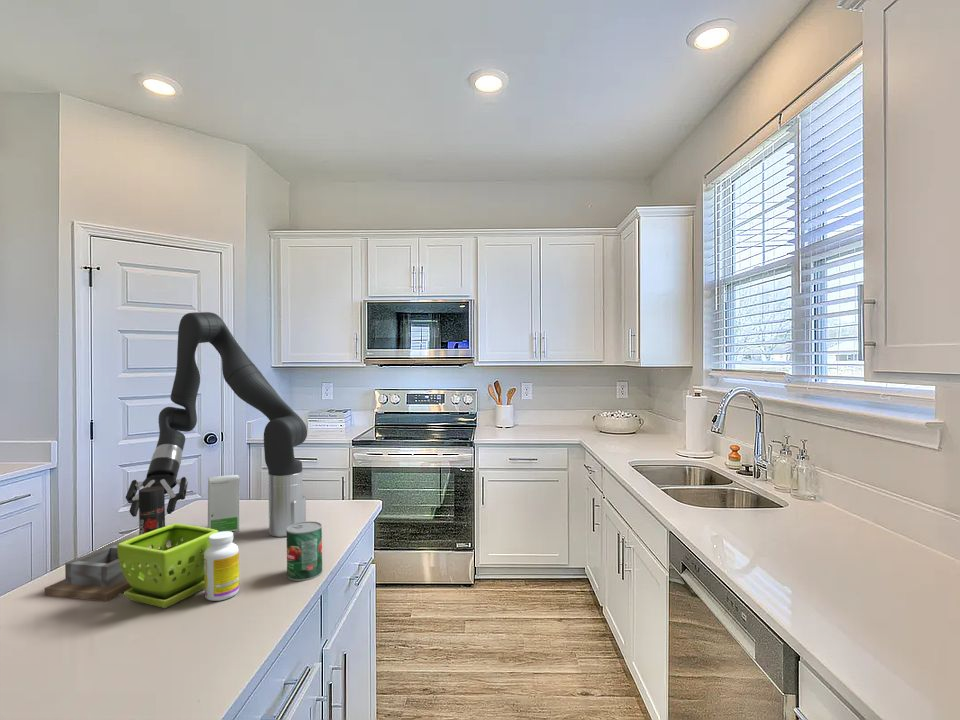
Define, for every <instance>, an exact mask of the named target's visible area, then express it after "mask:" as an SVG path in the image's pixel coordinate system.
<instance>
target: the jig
mask: <svg viewBox="0 0 960 720" xmlns="http://www.w3.org/2000/svg"><path fill="white" fill-rule="evenodd" d="M117 545H118V544H117ZM117 545H116V544H110V545H108V546H105V547H103V548H100V549H97V550H94V551H92V552H89V553H87V554H85V555H82V556H80V557H78V558H76V559H73V560H69V561H68V562H65V563H64V564H65V565H64V566H65V568H64V570H65V575H64V576H65V579H62V580H60V581H58V582H55V583H52V584H50V585H49V586H46V587H44V596H52V597H59V598H60V597H61V598H62V597H63V598H72V599H79V598H80V600H89V601H90V600H91V601H100V602H108V601H110V600H111V599H113V598H116V597H117V596H120V595H121V594H124V592H125V591H127V590H129V589H131V588H132V587H131V585H130V584H129V583H128V581H127V580H126V578H125V576H124V574H123V572H122V569H121V566H120V563H119V558H118V552H117ZM166 546H167V548H169V547H170V546H171V544H170V545H169V544H168V545H167V544H166ZM147 548H151V549H152V547H151V546H149V547H147ZM158 550H160V547H159V548H158ZM139 564H140V563H139Z"/></svg>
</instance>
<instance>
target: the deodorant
mask: <svg viewBox="0 0 960 720" xmlns="http://www.w3.org/2000/svg"><path fill="white" fill-rule="evenodd" d="M142 488H143V489H142ZM142 488H140V489H139V490H138V493H139V509H138V521H139V525H138V526H139V529H138V530H139V534H138V536H139V535H142V534H145V533H148V532H150V531H153V530H156V529H159V528H162V527H165V526H166V507H165V505H166V503H165V500H166V499H165V495H166V494H164V487H163V486H154V487H147V488H144V487H142Z"/></svg>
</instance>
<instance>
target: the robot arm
mask: <svg viewBox="0 0 960 720" xmlns="http://www.w3.org/2000/svg"><path fill="white" fill-rule="evenodd" d="M205 343H209V344H211V346H213V347H214V349H215V350H216V351H217V353H218V354H219V355H220V358H221V367H222V368H221V369H222V370H221V371H222V375H223V379H224V381H225V383H226V384H227V385H228V386H229V388H230V389H231V390H232V391H233V393H234V394H235V395H236V396H237V397H238V398H239V399H240V400H242V401H243V402H245V403H246V404H248V405H250V406H251V407H252V408H254V409H256V410H257V411H259V412H261V414H263V415H264V416H265V417H266V418H267V419H268V420H269V422H267V424H266V425H265V427H264V431H263V445H264V446H263V449H264V452H263V453H264V462H265V465H266V467H267V470H268V472H267V476H268V481H267V483H268V534H269V535H270V536H271V537H272V536H273V537H278V538H279V537H280V538H281V537H286V536H287V532H286V528H287V527H288V526H290V525H292V524H295V523H299V522H307V509H306V508H307V505H306V504H307V501H306V500H307V499H306V496H303V462H302V461H301V460H299V459H297V458H295V451H294V448H295V447H297V446H300V445H301V444H303V443H304V442H305V441H306V440H307V437H308V428H307V425H306V423H305V422H304V420H303V419H302V418H301V417H300V416H299V415H298V414H297V413H296V412H295V410H293V409H292V407H290V406H289V404H288V403H286V402H285V401H284V400H283V399H282V397H281V396H280V395H279V394H278V392H277V391H276V390H275V389H274V388H273V386H272V385H271V384H270V383H269V381H268V380H267V379H266V378H265V376H264V375H263V373H262V372H261V371H260V370H259V368H258V367H257V366H256V364H255V363H254V362H253V361H252V360H251V359H250V358H249V357H248V355H247V354H246V352H245V351H244V350H243V348H242V347H241V345H239V343H238V342H237V340H236V339H235V337H234V335H233V334H232V333H231V331H230V329H229V328H228V326H227V324H226V323H225V322H224V320H223V318H221V316H220V315H218V314H216V313H214V312H210V311H209V312H208V311H207V312H206V311H203V312H201V311H199V312H187V313H185V314H184V315H182V317H181V319H180V321H179V324H178V331H177V349H176V350H177V351H176V352H177V353H176V370H175V376H174V380H173V385H172V388H171V394H170V401H172V403H174V404H175V405H178V406H181V407H182V408H181V407H173V406H165V407H164V408H163V409H161V411H160V412H159V414H158V431H159V435H158V440H157V443H156V447H155V450H154V452H153V454H152V457H151V459H150V463H149V465H148V470H147V473H146V476H145V479H144V480H143V481H137V479H134V480H132V481H131V483H130V484H129V488H128V490H127V493H126V495H125V500H126V501H127V503H128V504H131V505H130V507H129V513H130V515H131V516H132V517H134V518H135V517H137V515H138V513H139V492H138V491H139V490H140V489H143V488H147V487H154V486H163V487H164V494H165V495H167V496H168V497H169V499H168V503H167V506H166V513H167V514H168V515H171V514H172V513H173V512H175V510H176V505H177V502H178V501H181V500H185V499H186V495H187V489H188V480H187V478H186V477H185V476H182V477H181V478H178V479H177V477H178V473H179V471H180V468H181V467H180V465H181V464H182V459H183V458H182V457H183V450H184V448H185V444H186V436H185V434H184V433H189V432H192V431H193V430H194V429H195V428H196V425H197V423H198V415H197V405H196V404H197V403H196V402H197V396H198V393H199V390H200V389H199V388H200V385H201V374H200V370H199V367H198V366H197V362H196V353H197V348H198V346H199V344H205ZM183 432H184V433H183ZM177 485H178V487H179V489H178V493H176V492H174V490H173V488H175V487H176V486H177Z"/></svg>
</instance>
